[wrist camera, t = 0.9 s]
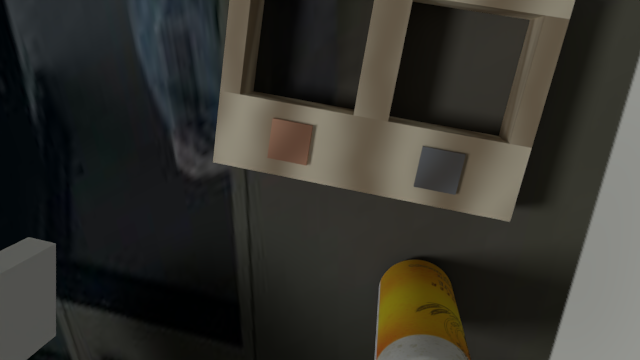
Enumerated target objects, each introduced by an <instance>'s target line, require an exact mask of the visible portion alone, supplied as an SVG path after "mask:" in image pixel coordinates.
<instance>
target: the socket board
mask: <svg viewBox="0 0 640 360" xmlns="http://www.w3.org/2000/svg"><path fill="white" fill-rule="evenodd" d="M264 1H265V0H230V1H229V11H228V21H227V31H226V40H225V50H224V60H223V70H222V79H221V89H220V99H219V109H218V119H217V128H216V138H215V148H214V158H213V162H215V163H219V164H224V165H229V166H234V167H239V168H244V169H249V170H254V171H259V172H264V173H269V174H274V175H279V176H284V177H289V178H294V179H299V180H304V181H309V182H314V183H319V184H324V185H329V186H334V187H339V188H344V189H349V190H354V191H359V192H364V193H369V194H374V195H379V196H384V197H389V198H394V199H399V200H404V201H409V202H414V203H419V204H424V205H429V206H434V207H439V208H444V209H449V210H454V211H459V212H464V213H469V214H474V215H479V216H484V217H489V218H494V219H499V220H504V221H509V222H510V220H511V217H512V213H513V210H514V207H515V203H516V200H517V196H518V193H519V190H520V186H521V183H522V179H523V176H524V173H525V169H526V166H527V162H528V159H529V156H530V152H531V149H532V145H533V142H534V139H535V135H536V132H537V129H538V125H539V122H540V118H541V115H542V112H543V108H544V105H545V101H546V98H547V95H548V91H549V88H550V84H551V81H552V78H553V74H554V71H555V67H556V64H557V61H558V57H559V54H560V50H561V47H562V44H563V40H564V37H565V34H566V30H567V27H568V23H569V20H570V17H571V13H572V10H573V6H574V3H575V0H374V5H373V11H372V16H371V22H370V27H369V33H368V38H367V44H366V49H365V54H364V60H363V65H362V71H361V76H360V82H359V87H358V93H357V98H356V104H355V109H348V108H343V107H337V106H332V105H326V104H321V103H315V102H310V101H304V100H299V99H293V98H288V97H282V96H277V95H271V94H266V93H260V92H255V91H254V83H255V75H256V67H257V58H258V50H259V42H260V34H261V25H262V17H263V9H264ZM412 2H418V3H424V4H431V5H437V6H444V7H450V8H456V9H463V10H469V11H476V12H482V13H489V14H495V15H501V16H508V17H514V18H521V19H527V20H530V22H529V26H528V30H527V33H526V37H525V41H524V44H523V48H522V52H521V55H520V59H519V63H518V66H517V70H516V74H515V77H514V81H513V85H512V88H511V92H510V96H509V99H508V103H507V107H506V110H505V114H504V118H503V121H502V125H501V129H500V132H499V136H496V135H491V134H485V133H480V132H474V131H469V130H463V129H458V128H452V127H447V126H441V125H436V124H430V123H425V122H419V121H414V120H408V119H403V118H397V117H392V116H389V114H390V109H391V104H392V99H393V94H394V89H395V85H396V80H397V75H398V70H399V65H400V60H401V55H402V50H403V45H404V41H405V36H406V31H407V26H408V21H409V16H410V11H411V6H412Z"/></svg>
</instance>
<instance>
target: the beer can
mask: <svg viewBox="0 0 640 360" xmlns="http://www.w3.org/2000/svg"><path fill="white" fill-rule="evenodd" d="M374 360H471V358H470V354H469V350H468V347H467V343H466V339H465V335H464V331H463V327H462V324H461V320H460V316H459V312H458V308H457V304H456V301H455V297H454V293H453V289H452V285H451V282H450V280H449V278H448V277H447V275H446V274H445V273H444V272H443V271H442V270H441V269H440V268H439V267H438V266H436V265H434V264H432V263H430V262H427V261H423V260H414V259H413V260H406V261H402V262H399V263H397V264H395V265H393V266H392V267H391V268H389V269H388V270H387V271H386V273H385V274H384V275H383V277H382V279H381V281H380V284H379V293H378V309H377V325H376V342H375V358H374Z"/></svg>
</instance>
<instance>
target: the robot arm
mask: <svg viewBox="0 0 640 360" xmlns="http://www.w3.org/2000/svg"><path fill="white" fill-rule="evenodd" d="M55 336H56V243H51V242H47V241H43V240H38V239H34V238H30V237H28V238H26V239H24V240H22V241H20V242H18V243H16V244H14V245H12V246H10V247H8V248H6V249H4V250H2V251H0V360H26V359H28V358H29V357H30V356H31V355H33V354H34V353H35V352H36V351H37V350H39V349H40V348H41V347H42V346H44V345H45V344H46V343H47V342H48V341H50V340H51V339H52V338H53V337H55Z"/></svg>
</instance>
